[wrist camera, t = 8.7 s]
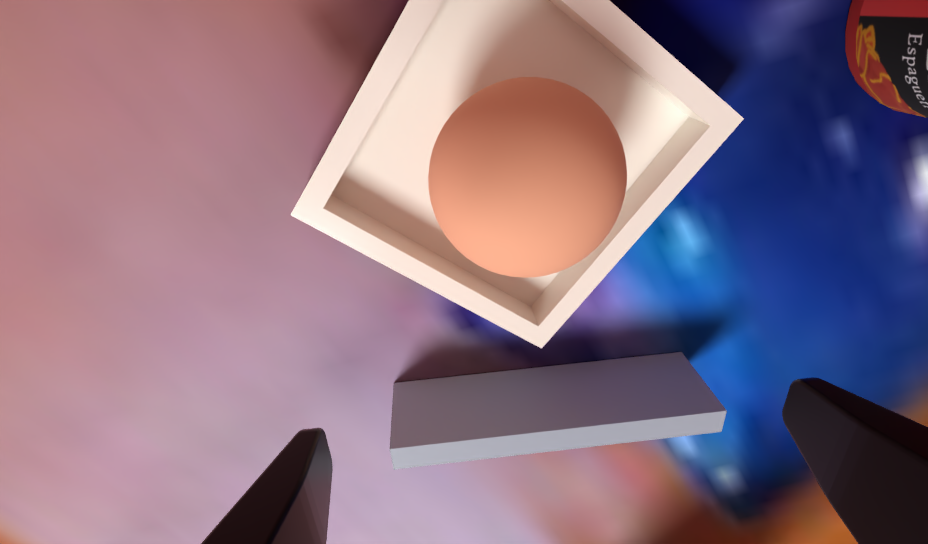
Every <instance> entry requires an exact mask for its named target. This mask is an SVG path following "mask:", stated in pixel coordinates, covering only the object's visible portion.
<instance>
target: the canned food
mask: <svg viewBox="0 0 928 544" xmlns="http://www.w3.org/2000/svg"><path fill="white" fill-rule="evenodd" d="M846 55H847V60H848V64H849V69H850V71H851V72H852V74H853V76H854V78H855V80H856V82H857V83H858V84H859V85H860V86H861V87H862V88H863V89H864V90H865V91H866V92H867V93H868V94H869V95H870V96H872V97H873V98H874V99H876V100H877V101H878V102H879V103H881V104H883V105H885V106H887V107H889V108H891V109H893V110H895V111H900V112H904V113H909V114H913V115H918V116H922V117H927V118H928V0H852V3H851V6H850V9H849V14H848V20H847V25H846Z"/></svg>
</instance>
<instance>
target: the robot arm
mask: <svg viewBox="0 0 928 544" xmlns="http://www.w3.org/2000/svg"><path fill="white" fill-rule="evenodd" d="M782 416H783V420H784V423H785V425H786V427H787V429H788V431H789V432H790V434H791V436H792V438H793V439H794V441H795V443H796V445H797V446H798V448H799V450H800V452H801V454H802V455H803V457H804V459H805V461H806V462H807V464H808V466H809V468H810V469H811V471H812V473H813V475H814V477H815V478H816V480H817V482H818V484H819V485H820V487H821V489H822V490H823V492H824V494H825V495H826V497H827V499H828V500H829V502H830V503H831V505H832V506H833V508H834V509H835V511H836V512H837V514H838V515H839V516H840V518H841V519H842V521H843V522H844V524H845V525H846V526H847V528H848V529H849V531H850V532H851V534H852V535H853V537H854V538H855V539H856V541H857V542H858V544H928V427H926V426H924V425H921V424H919V423H917V422H915V421H913V420H910V419H908V418H906V417H904V416H901V415H899V414H897V413H895V412H893V411H890V410H888V409H886V408H884V407H882V406H879V405H877V404H875V403H873V402H871V401H868V400H866V399H864V398H862V397H859V396H857V395H855V394H853V393H851V392H848V391H846V390H844V389H842V388H840V387H837V386H835V385H833V384H831V383H828V382H826V381H824V380H822V379H819V378H804V379H797V380H794V381H793V382H792V383H791V386H790V389H789V392H788V395H787V398H786V401H785V404H784V407H783V411H782ZM331 481H332V458H331V454H330V450H329V447H328V443H327V439H326V435H325V432H324V430H323V429H321V428H313V429H303V430H301V431H299V432H298V433H297V434H296V435H295V436H294V437H293V439H292V440H291V441H290V442H289V443H288V444H287V445H286V447H285V448H284V449H283V450H282V451H281V452H280V453H279V455H278V456H277V457H276V458H275V459H274V460H273V462H272V463H271V464H270V465H269V466H268V467H267V468H266V470H265V471H264V472H263V473H262V474H261V475H260V476H259V478H258V479H257V480H256V481H255V482H254V483H253V485H252V486H251V487H250V488H249V489H248V490H247V491H246V493H245V494H244V495H243V496H242V497H241V498H240V499H239V501H238V502H237V503H236V504H235V505H234V506H233V508H232V509H231V510H230V511H229V512H228V513H227V514H226V516H225V517H224V518H223V519H222V520H221V521H220V522H219V524H218V525H217V526H216V527H215V528H214V529H213V531H212V532H211V533H210V534H209V535H208V536H207V537H206V539H205V540H204V541H203V542H202V543H201V544H326V539H327V527H328V516H329V504H330V493H331Z"/></svg>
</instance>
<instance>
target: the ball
mask: <svg viewBox="0 0 928 544" xmlns="http://www.w3.org/2000/svg"><path fill="white" fill-rule="evenodd" d="M626 186H627V166H626V158H625V153H624V149H623V145H622V142H621V139H620V137H619V134H618V132H617V130H616V129H615V127H614V125H613V124H612V122H611V120H610V119H609V117H608V116H607V114H606V113H605V112H604V111H603V109H602V108H601V107H600V106H599V105H598V104H597V103H595V102H594V101H593V100H592V99H591V98H590V97H588V96H587V95H585V94H584V93H582V92H581V91H579V90H578V89H576V88H574V87H572V86H570V85H568V84H566V83H563V82H559V81H556V80H552V79H547V78H540V77H519V78H512V79H507V80H504V81H500V82H497V83H494V84H492V85H490V86H488V87H485V88H483V89H482V90H480V91H478V92H477V93H475V94H473V95H472V96H471V97H469V98H468V99H467V100H466V101H464V102H463V103H462V104H461V105H460V106H459V107H458V108H457V109H456V110H455V111H454V112H453V113H452V114H451V116H450V117H449V119H448V120H447V121H446V123H445V124H444V126H443V127H442V129H441V131H440V133H439V135H438V137H437V139H436V142H435V144H434V147H433V150H432V154H431V158H430V165H429V174H428V187H429V195H430V201H431V205H432V208H433V211H434V214H435V217H436V219H437V221H438V224H439V226H440V228H441V229H442V231H443V232H444V234H445V236H446V237H447V238H448V240H449V241H450V242H451V243H452V244H453V246H454V247H455V248H456V249H457V250H458V251H459V252H460V253H461V254H463V255H464V256H465V257H466V258H468V259H469V260H471V261H472V262H474V263H475V264H477V265H478V266H480V267H482V268H484V269H486V270H489V271H491V272H494V273H497V274H501V275H506V276H511V277H522V278H528V277H540V276H546V275H550V274H553V273H557V272H559V271H562V270H564V269H567V268H569V267H571V266H573V265H574V264H576V263H578V262H579V261H581V260H582V259H584V258H585V257H587V256H588V255H589V254H590V253H591V252H593V251H594V250H595V249H596V248H597V247H598V246H599V245H600V244H601V243H602V242H603V240H604V239H605V238H606V236H607V235H608V234H609V232H610V231H611V229H612V227H613V226H614V224H615V222H616V220H617V218H618V216H619V213H620V211H621V208H622V204H623V201H624V197H625V192H626Z"/></svg>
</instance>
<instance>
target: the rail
mask: <svg viewBox="0 0 928 544" xmlns="http://www.w3.org/2000/svg"><path fill="white" fill-rule="evenodd" d="M726 412H727V411H726V409H725V408H724V407H723V405H722V404H721V403H720V401H719V400H718V399H717V398H716V396H715V395H714V394H713V392H712V391H711V390H710V388H709V387H708V386H707V385H706V383H705V382H704V381H703V379H702V378H701V377H700V375H699V374H698V373H697V372H696V370H695V369H694V368H693V366H692V365H691V364H690V362H689V361H688V360H687V358H686V357H685V356H684V355H683V353H682V352H675V353H666V354H657V355H648V356H639V357H629V358H620V359H611V360H602V361H592V362H583V363H574V364H565V365H555V366H546V367H537V368H528V369H518V370H509V371H500V372H491V373H481V374H472V375H463V376H454V377H444V378H435V379H426V380H417V381H408V382H398V383H394V388H393V404H392V421H391V437H390V453H391V458H392V463H393V468H394V469H403V468H411V467H420V466H429V465H437V464H446V463H455V462H463V461H472V460H480V459H489V458H498V457H506V456H515V455H524V454H532V453H541V452H550V451H558V450H567V449H576V448H584V447H593V446H602V445H610V444H619V443H628V442H636V441H645V440H654V439H662V438H671V437H680V436H688V435H697V434H706V433H714V432H721V431H722V427H723V423H724V419H725V415H726Z"/></svg>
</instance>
